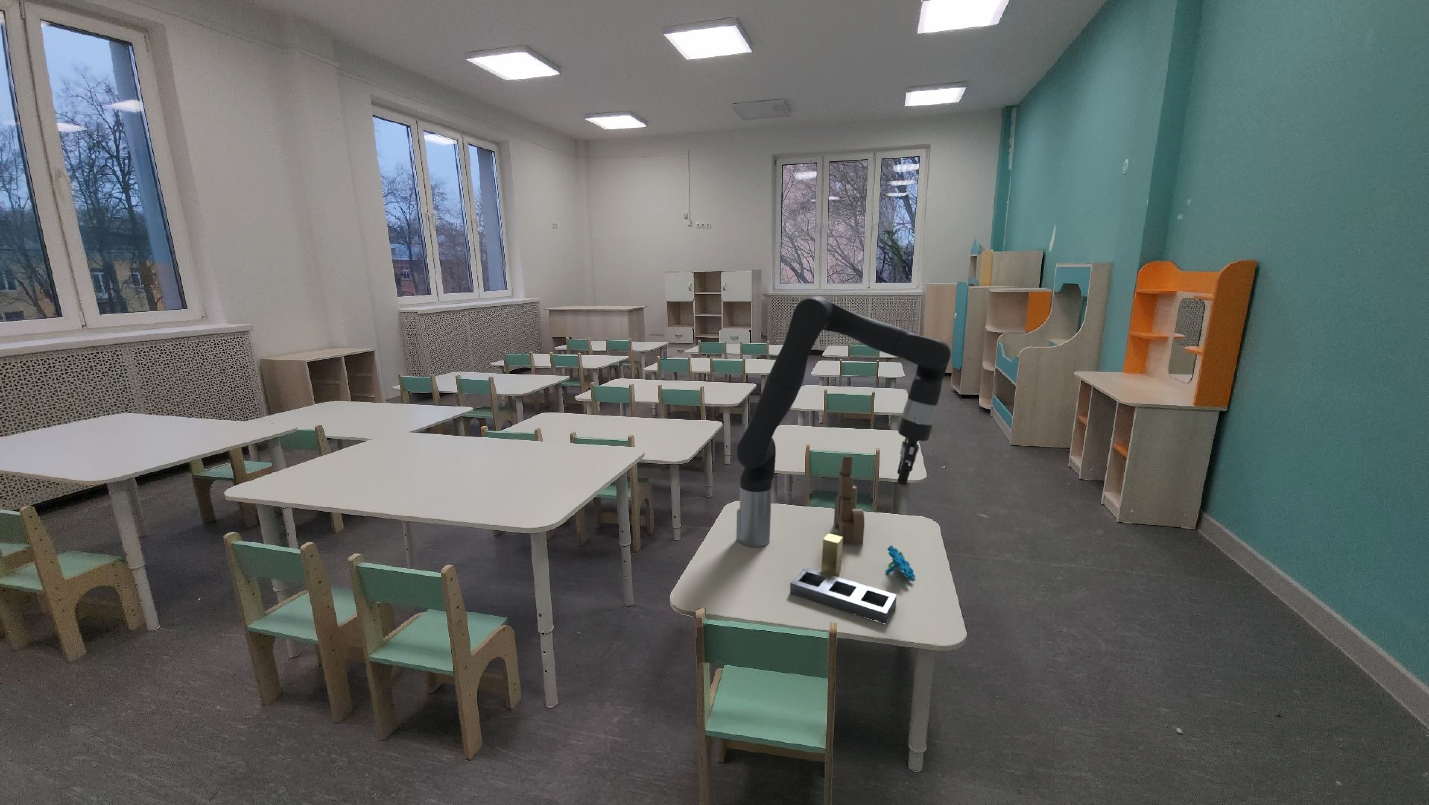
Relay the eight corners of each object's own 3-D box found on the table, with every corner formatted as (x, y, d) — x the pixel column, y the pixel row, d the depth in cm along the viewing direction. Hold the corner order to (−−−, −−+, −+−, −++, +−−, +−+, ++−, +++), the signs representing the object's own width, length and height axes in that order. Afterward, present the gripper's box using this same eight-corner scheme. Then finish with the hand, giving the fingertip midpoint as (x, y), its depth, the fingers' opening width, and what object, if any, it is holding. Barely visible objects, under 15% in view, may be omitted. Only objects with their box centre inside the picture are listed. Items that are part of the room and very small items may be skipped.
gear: (916, 582, 147) (890, 551, 149) (898, 595, 149) (872, 564, 151) (917, 567, 158) (892, 538, 159) (899, 579, 159) (875, 550, 161)
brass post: (821, 573, 155) (823, 539, 152) (826, 566, 158) (828, 533, 155) (835, 577, 152) (837, 543, 150) (840, 570, 156) (842, 537, 153)
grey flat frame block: (789, 593, 145) (790, 582, 144) (804, 577, 152) (804, 567, 152) (885, 624, 133) (886, 613, 132) (895, 605, 140) (896, 594, 139)
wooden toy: (864, 544, 170) (870, 465, 164) (841, 544, 170) (846, 464, 165) (853, 522, 185) (858, 448, 179) (832, 521, 185) (837, 447, 180)
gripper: (902, 410, 151) (886, 468, 155) (902, 420, 138) (885, 483, 141) (931, 417, 149) (915, 475, 153) (935, 428, 136) (917, 491, 139)
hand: (901, 479), depth 147 cm, fingers open, 8 cm apart
